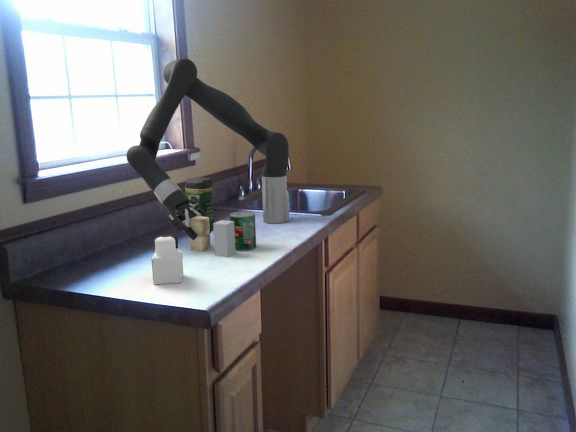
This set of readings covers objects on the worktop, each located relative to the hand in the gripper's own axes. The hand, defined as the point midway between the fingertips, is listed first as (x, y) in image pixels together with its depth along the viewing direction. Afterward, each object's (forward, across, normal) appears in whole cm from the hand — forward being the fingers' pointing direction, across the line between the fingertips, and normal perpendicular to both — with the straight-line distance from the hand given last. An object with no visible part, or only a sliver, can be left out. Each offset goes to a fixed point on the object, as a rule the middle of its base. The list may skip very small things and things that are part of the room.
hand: (203, 235), depth 181 cm
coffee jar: (-9, +23, +16) cm, 30 cm away
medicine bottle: (+10, -28, -3) cm, 30 cm away
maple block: (+2, 0, +4) cm, 5 cm away
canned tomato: (+11, +6, -4) cm, 13 cm away
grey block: (+10, -2, -3) cm, 11 cm away
